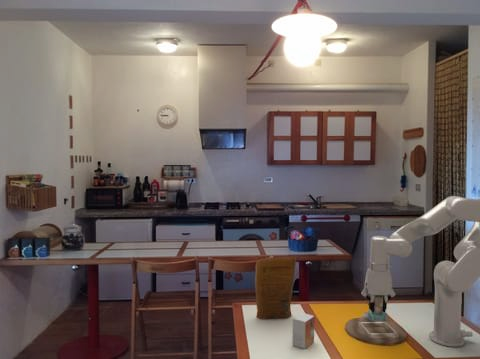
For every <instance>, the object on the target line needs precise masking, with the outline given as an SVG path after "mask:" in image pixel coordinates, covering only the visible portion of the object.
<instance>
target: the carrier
mask: <svg viewBox="0 0 480 359" xmlns="http://www.w3.org/2000/svg"><path fill="white" fill-rule="evenodd" d="M344 329H345V333H347V335H349V336H350V337H351V338H353V339H355V340H356V341H357V340H358V341H360V342H363V343H366V344H371V345H378V346H394V345H398V344H401V343H404V341H406V339H407V331H406V330H405V329H404V328H403V326H401V325H400V324H397V323H396V322H393V321H390V320H388V319H387V321H382V322H380V321H373V320H372V319H370V318H368V311H367V312H365V311H364V312H363V313H362V317H354V318H351V319H349V320H347V321H346V322H345V328H344Z"/></svg>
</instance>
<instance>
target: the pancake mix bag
mask: <svg viewBox="0 0 480 359" xmlns="http://www.w3.org/2000/svg"><path fill="white" fill-rule="evenodd" d="M296 264H297V257H296V256H281V257H272V258H259V259H258V261H257V260H256V261H255V276H254V283H255V285H254V286H255V287H254V288H255V300H256V301H255V302H256V311H257V312H256V318H257V319H260V320H273V319H274V320H279V319H289V318H291V317H292V316H293V315H292V311H291V302H292V297H293V296H292V294H293V287H294V281H295V270H296V267H297V266H296Z"/></svg>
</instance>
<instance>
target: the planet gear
mask: <svg viewBox="0 0 480 359" xmlns="http://www.w3.org/2000/svg"><path fill="white" fill-rule="evenodd" d="M374 303H375V305H374V312H372V311H371V310H370V309H369V310H367V312H368V318H370V319H372V320H373V321H380V322H382V321H387V320H388V313H387V312H383V296H382V295H375V296H374Z"/></svg>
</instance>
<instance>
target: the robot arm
mask: <svg viewBox="0 0 480 359" xmlns="http://www.w3.org/2000/svg"><path fill="white" fill-rule="evenodd" d="M457 220H458V221H464V222H465V221H466V222H473V223H472V226H471V228H470V229H469V231H468V232H467V233H466V234H465V235H464V236H463V238H462V239H461V240H460V241H459V242H458V244H456V246H455V247H454V250H453V256H454V257H455V259H456V260H457V261H456V262H453V261H451V260H442V261H440V262H438V263H437V264H436V265H435V266H434V270H433V280H434V303H433V304H434V305H433V307H434V308H433V310H434V311H433V331H430V332H429V334H428V335H429V336H428V338H429V339H430V340H431V341H432V342H434V343H436V344H439V345H441V346H446V347H452V348H458V347H462V346H464V345H465V339H464V338H465V337H466V338H467V337H468V338H472V337H474V336H473V332H472V331H466V329H462V327H461V326H462V325H461V324H462V322H461V321H462V304H463V302H462V301H463V298H462V294H463V293H464V292H466V291H468V290H469V289H470V288H471V287H472V286H473V285H475V283H476V282H477V281H478V279H479V278H480V197H479V198H477V199H476V198H468V197H462V196H458V195H451V196H448V197H447V198H444V199H443V200H442V201H440V202H439V203H438V204H437V205H435V206H434V207H433V208H431V209H430V210H428V211H427V212H425V213H423V215H421V216H420V217H417V218H416V219H414V220H412V221H410V222H408V223H407V224H405V225H403V226H401V227H400V228H399V229H397V230H396V231H395V232H393V233H392V234H391V235H389V237H387V236H384V235H374V236H372V237H370V247H369V252H370V253H369V268H367V270H366V273H365V280H364V288H363V289H362V291H361V293H360V294H361V295H362V296H363V297H364V298H366V299H367V300H368V309H369V310H370V311H372V312H374V305H375V303H374V296H375V295H381V296H383V312H384V313H387V312H386V311H387V305H388V304H387V303H388V302H389V301H390V300H391V299H392V298H393V297H395V296H396V292H395V291H394V289H393V279H392V278H393V276H392V273H391V270H390V269H391V268H393V264H392V263H390V258H391V257H392V256H393V257H396V258H406V257H410V255H411V253H413V246H412V244H411V243H413V242H414V241H416V240H418V239H420V238H423V237H426V236H427V237H428V236H434V235H436V234H438V233H439V232H441V231H442V230H444V229H445V228H447V227H448V226H449V225H451V224H452V223H454V222H455V221H457ZM390 256H391V257H390Z"/></svg>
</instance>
